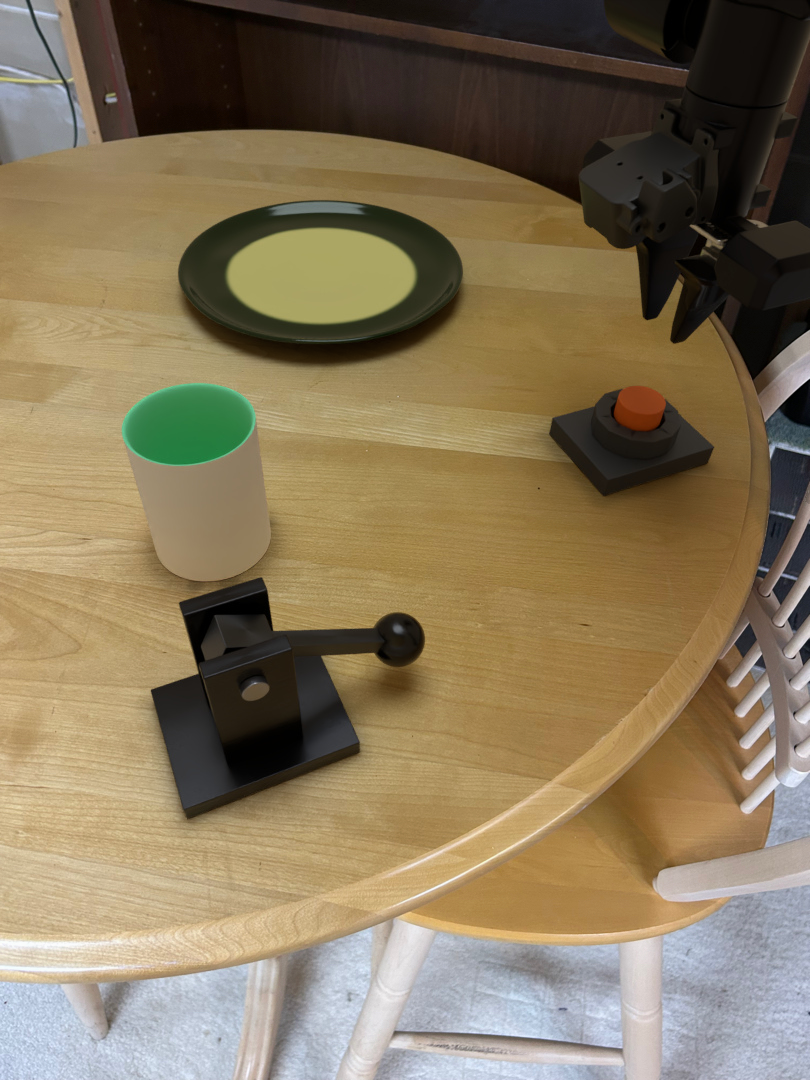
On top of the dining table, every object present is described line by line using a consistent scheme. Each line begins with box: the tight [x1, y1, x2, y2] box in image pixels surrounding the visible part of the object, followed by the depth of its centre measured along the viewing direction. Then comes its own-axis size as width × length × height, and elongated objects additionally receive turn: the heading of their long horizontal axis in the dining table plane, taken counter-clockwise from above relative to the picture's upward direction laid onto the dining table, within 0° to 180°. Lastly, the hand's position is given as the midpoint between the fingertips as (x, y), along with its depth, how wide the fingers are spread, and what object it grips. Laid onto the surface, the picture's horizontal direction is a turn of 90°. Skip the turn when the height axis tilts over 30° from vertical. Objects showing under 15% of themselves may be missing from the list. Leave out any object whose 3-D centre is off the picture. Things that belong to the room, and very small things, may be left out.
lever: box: [201, 611, 426, 668], centre depth 44 cm, size 13×3×3 cm, turn 114°
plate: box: [177, 199, 464, 345], centre depth 80 cm, size 28×28×2 cm
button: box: [614, 385, 666, 432], centre depth 62 cm, size 4×4×2 cm
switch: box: [150, 576, 361, 820], centre depth 43 cm, size 10×8×10 cm
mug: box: [121, 382, 272, 582], centre depth 54 cm, size 12×8×10 cm
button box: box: [549, 388, 715, 497], centre depth 64 cm, size 8×10×4 cm
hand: (663, 329), depth 57 cm, fingers open, 3 cm apart
